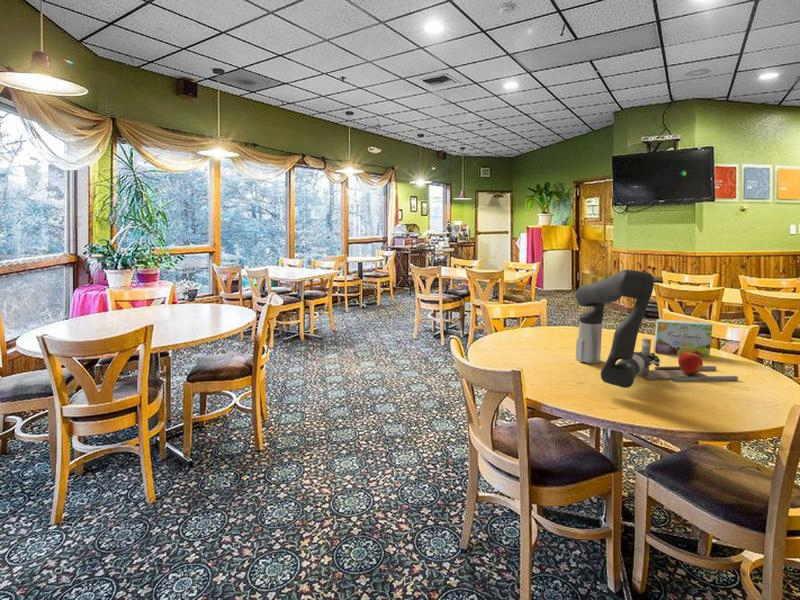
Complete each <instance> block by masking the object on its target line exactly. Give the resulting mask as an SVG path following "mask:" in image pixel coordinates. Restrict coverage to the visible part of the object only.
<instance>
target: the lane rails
mask: <svg viewBox="0 0 800 600" xmlns="http://www.w3.org/2000/svg"><path fill="white" fill-rule="evenodd" d="M653 370H681V369H680V367H679V365H678V366H654V369H653ZM708 370H716V371H717V366H715V365H704V366H702V369H701V370H700V371H703V372H705V371H707V372H708ZM700 371H699V372H700ZM734 380H738V381H739V376H737V375H706V376H686V377H672V380H671V382H735V381H734Z"/></svg>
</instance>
